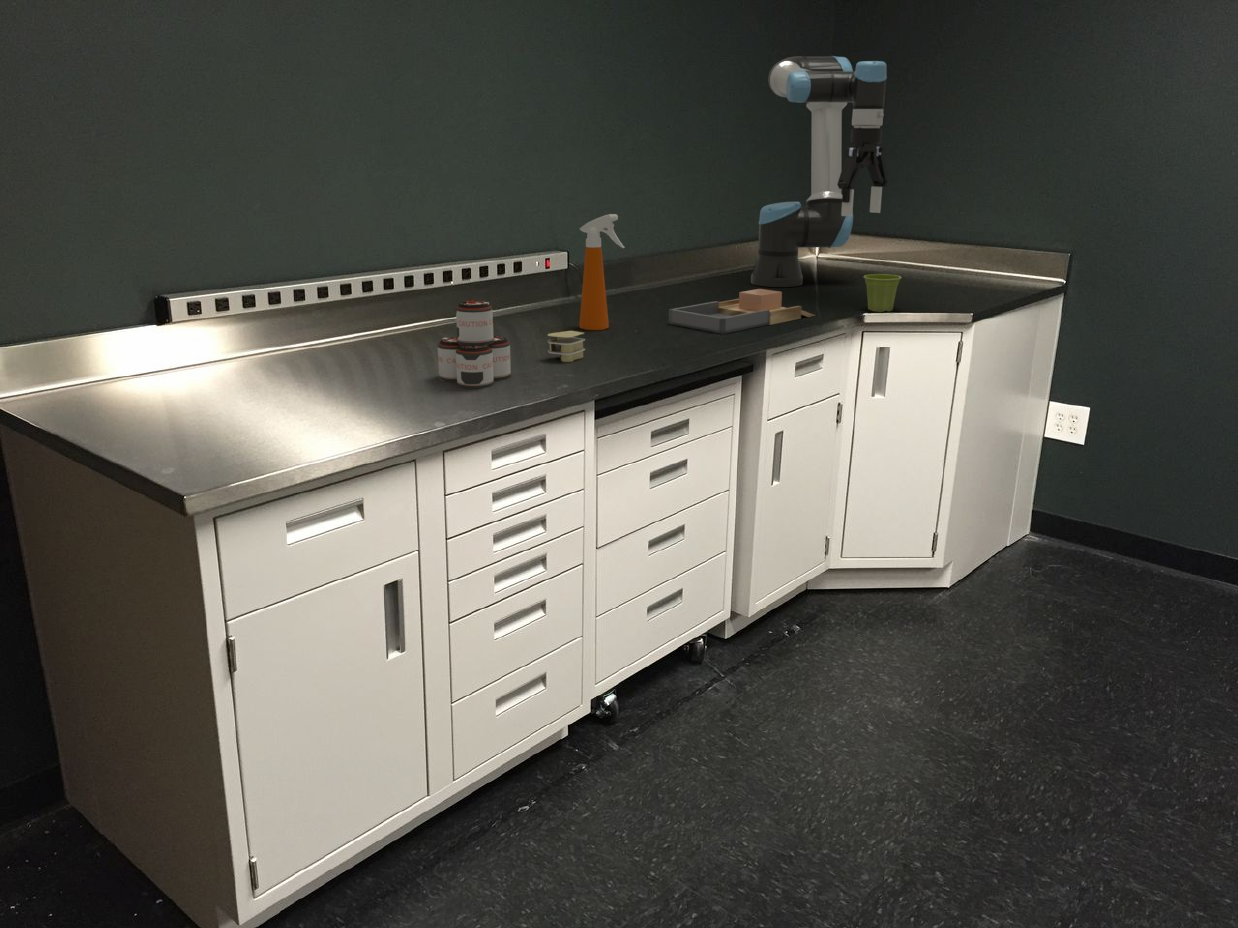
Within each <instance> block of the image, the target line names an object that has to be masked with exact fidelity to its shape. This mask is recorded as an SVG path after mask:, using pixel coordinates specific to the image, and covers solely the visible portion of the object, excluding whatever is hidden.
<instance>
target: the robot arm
mask: <svg viewBox="0 0 1238 928" xmlns="http://www.w3.org/2000/svg"><path fill="white" fill-rule="evenodd" d="M854 69H855V70H853V65H852V64H851V62H850V60H849V59H848V58H847V57H845V56H836V55H835V56H834V55H830V56H829V55H827V56H823V55H822V56H820V55H819V56H811V55H810V56H802V55H799V56H797V55H796V56H790V57H786V58H784V59H781V60H780V61H777V62H776V63H775V64H774V65H773V66H772V68H771V69H770V71H769V73H768V79H767V80H768V85H769V88H770V89H771V91H772V92H773V94H775V95H776V96H778V97H781V98H787V101H788V102H791V103H799V104H801V103H802V104H803V103H806V104H805V105H806V108H807V109H808V110H809V111H810V112H811V160H810V161H811V175H810V176H811V178H810V179H811V184H810V188H811V190H810V191H811V192H810V196H809V197H808V198H807V199H806V202H805V206H802V204H801V202H800V201H785V202H784V201H783V202H776V203H771V204H767V205H765V206H763V207H762V208H761V209H760V212H759V220H758V246H757V247H758V251H757V258H756V261H755V264H754V267H753V270H752V273H751V276H750V284H752V285H754V286H759V287H760V286H761V287H768V288H769V287H770V288H789V287H791V288H792V287H799V286H802V285H803V278H804V277H803V276H804V275H803V274H802V269H801V264H800V261H799V248H828V249H831V248H840V247H841V248H842V247H843V246H845V245H846V244H847V243H848V241H849V238H850V237H851V233H852V228H853V223H854V213H853V212H854V211H853V208H854V195H855V194H854V193H855V189H853V187H854V185H855V182H856V181H857V179H858V176H859V175H860V172H861V170H862V169H863V168H865V167H866V169H867V172H868V174H869V176H870V179H871V182H872V184H873V186H871V187H870V188H871V189H870V199H869V200H870V201H869V202H870V204H869V213H873V214H875V213H877V214H881V207H882V195H883V188H885V187H887V185H888V182H889V178H888V173H887V168H886V167H887V166H886V163H885V161H886V160H885V155H884V154H885V153H884V150H885V148H884V147H883V146H877V144H879V145H880V144H881V143H882V142H883V141H882V136H883V129H882V128H881V127H882V126H883V122H884V121H883V120H884V115H885V113H884V108H885V99H886V98H885V97H886V87H887V86H886V85H887V83H886V82H887V78H888V76H887V64H886V62H885V61H883V60H880V61H879V60H871V61H870V60H867V61H866V60H865V61H858V62H857V63H856V65H855V68H854ZM848 103H851V104H852V117H851V125H852V127H853V128H852V129H851V131H850V132H851V133H850V142H851V144H854V147H847V148H846V154H845V160H844V162H843V165H842V144H843V143H842V136H843V135H842V134H843V133H842V131H843V130H842V125H843V124H842V119H843V117H842V116H843V113H842V112H843V110H844V108H845V107H846V106H847V105H848Z"/></svg>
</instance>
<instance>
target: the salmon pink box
mask: <svg viewBox="0 0 1238 928" xmlns="http://www.w3.org/2000/svg"><path fill="white" fill-rule="evenodd" d="M738 293H739V294H738V299H739V308H740V309H746V310H752V311H761V310H766V309H767V310H774V309H779V308H781V307H782V300H783V299H782V298H783V296H782V295H783V292H782V291H779V290H772V289H764V288H757V289H750V290H746V291H739V292H738Z"/></svg>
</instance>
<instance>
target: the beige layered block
mask: <svg viewBox="0 0 1238 928" xmlns="http://www.w3.org/2000/svg"><path fill="white" fill-rule="evenodd" d="M584 334H585V332H582V331H577V330H576V331H575V330H566V331H560V332H558V331H557V332H552V333H548V334H547V336H548V337H551V339H548V340H547V343H548V344H549V349H547V352H548V354H555V355H559V359H560V361H561V362H563V363H571V362H574V361H575V360H576V361H577V360H579V359H583V358H584V351H585V350H586V348H584V342H585V340H586V339H585V338H580V337H578V336H580V335H584Z"/></svg>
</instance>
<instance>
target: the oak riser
mask: <svg viewBox="0 0 1238 928" xmlns="http://www.w3.org/2000/svg"><path fill="white" fill-rule="evenodd" d="M718 302H719V314H725V315H731V316H735V315H740V314H745V313H750V312H756V311H752V310H746V309H740V308H739V298H734V299H730V300H724V301H718ZM802 309H803V307H802V306H801V305H796V306H790V307H785V306H781V308H779V309H774V310H770V311H769V325H776V324H781V323H785V322H790V321H795V320H799V319H800V320H801V319H802V317H807V318H811V317H814V316H817V315H816V314H813V313H810V312H809V311H806V310H802ZM769 325H768V326H769Z"/></svg>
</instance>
